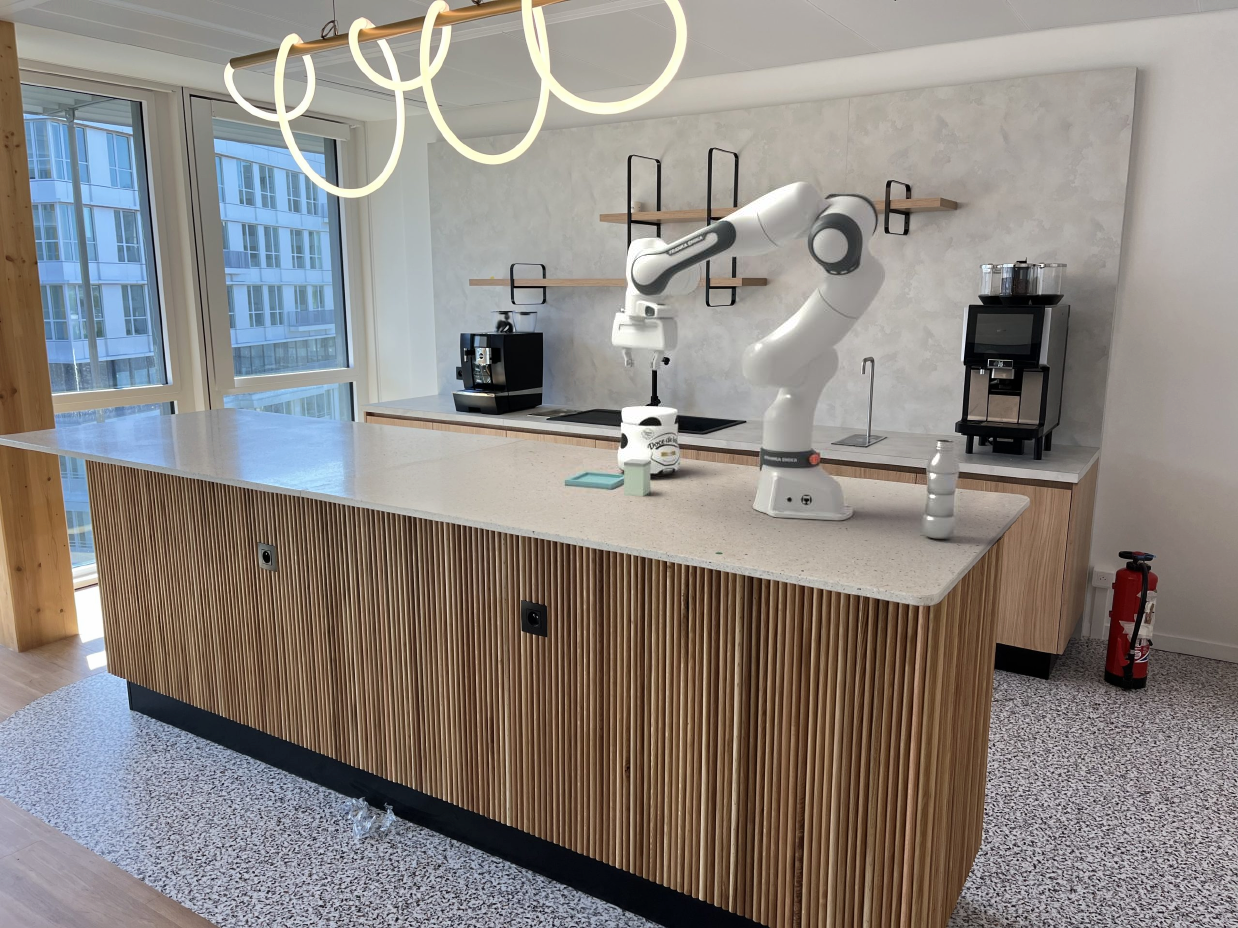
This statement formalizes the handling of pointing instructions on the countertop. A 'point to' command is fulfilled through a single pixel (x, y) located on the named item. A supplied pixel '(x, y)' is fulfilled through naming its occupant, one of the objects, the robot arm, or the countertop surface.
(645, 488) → the tea tin
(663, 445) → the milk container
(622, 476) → the tray
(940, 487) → the plastic bottle
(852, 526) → the countertop surface
